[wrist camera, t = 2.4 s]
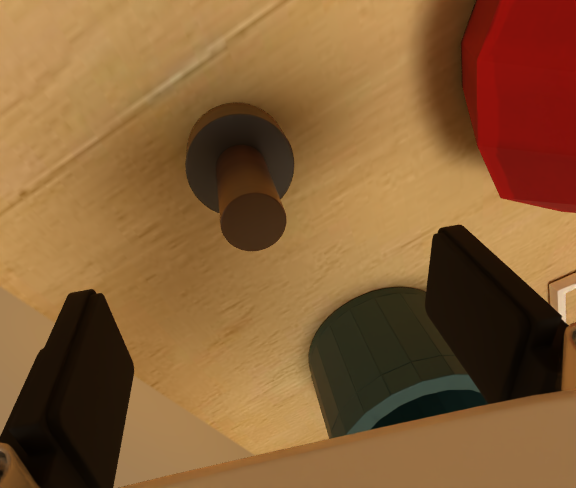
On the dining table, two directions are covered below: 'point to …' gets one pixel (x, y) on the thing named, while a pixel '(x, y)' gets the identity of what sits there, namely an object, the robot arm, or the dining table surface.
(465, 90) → the bottle
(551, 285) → the photo frame
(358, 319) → the jar
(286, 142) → the peg on round base
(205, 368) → the dining table surface
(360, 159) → the dining table surface
